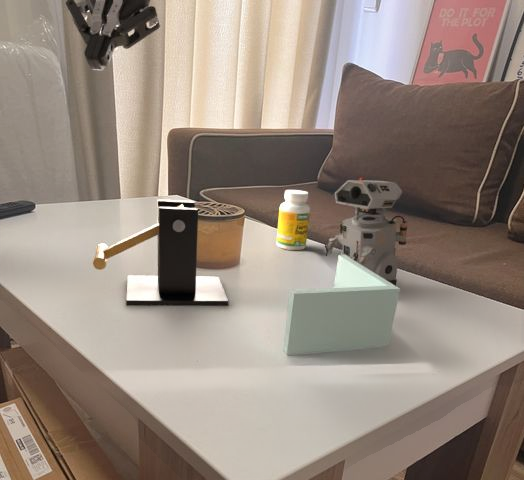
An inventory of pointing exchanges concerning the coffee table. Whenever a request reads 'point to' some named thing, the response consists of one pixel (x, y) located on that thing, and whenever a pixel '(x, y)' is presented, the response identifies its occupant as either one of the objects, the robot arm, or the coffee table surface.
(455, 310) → the coffee table surface
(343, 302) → the l-shaped corner panel
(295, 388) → the coffee table surface
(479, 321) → the coffee table surface
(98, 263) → the tap lever
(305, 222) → the supplement bottle
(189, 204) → the bracket
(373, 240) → the figurine
